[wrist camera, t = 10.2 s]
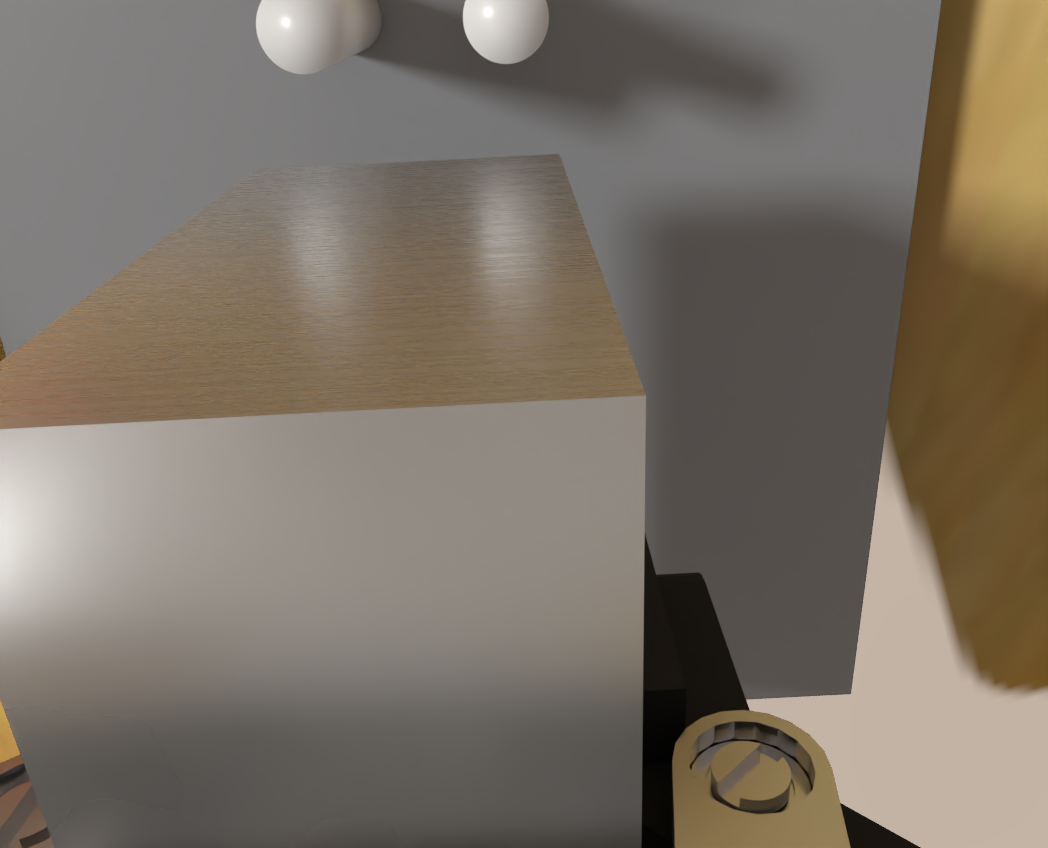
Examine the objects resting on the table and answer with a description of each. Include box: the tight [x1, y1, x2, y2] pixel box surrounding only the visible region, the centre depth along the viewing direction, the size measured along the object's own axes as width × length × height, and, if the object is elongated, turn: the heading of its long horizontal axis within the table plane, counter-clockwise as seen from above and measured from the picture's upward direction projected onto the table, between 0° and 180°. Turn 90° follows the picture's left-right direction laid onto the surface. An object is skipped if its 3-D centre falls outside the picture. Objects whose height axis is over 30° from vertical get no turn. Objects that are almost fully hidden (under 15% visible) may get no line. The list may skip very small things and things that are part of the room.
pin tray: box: [0, 0, 941, 699], centre depth 16 cm, size 16×15×5 cm
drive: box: [0, 154, 646, 848], centre depth 10 cm, size 4×10×7 cm, turn 3°
